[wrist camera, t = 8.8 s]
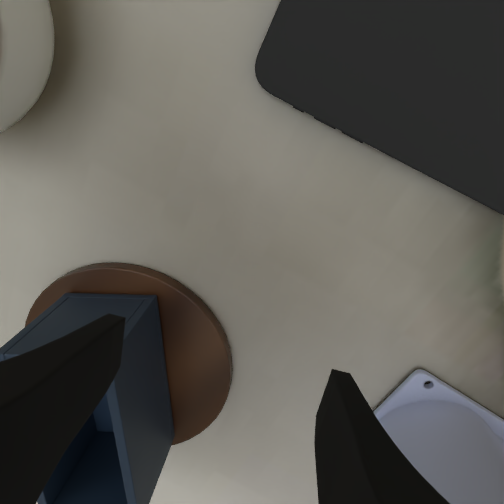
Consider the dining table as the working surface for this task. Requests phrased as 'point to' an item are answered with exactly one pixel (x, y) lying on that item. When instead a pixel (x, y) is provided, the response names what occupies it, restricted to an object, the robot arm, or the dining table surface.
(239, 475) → the dining table surface
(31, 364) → the robot arm
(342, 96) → the phone
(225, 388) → the disc
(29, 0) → the trinket box
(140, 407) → the bin
